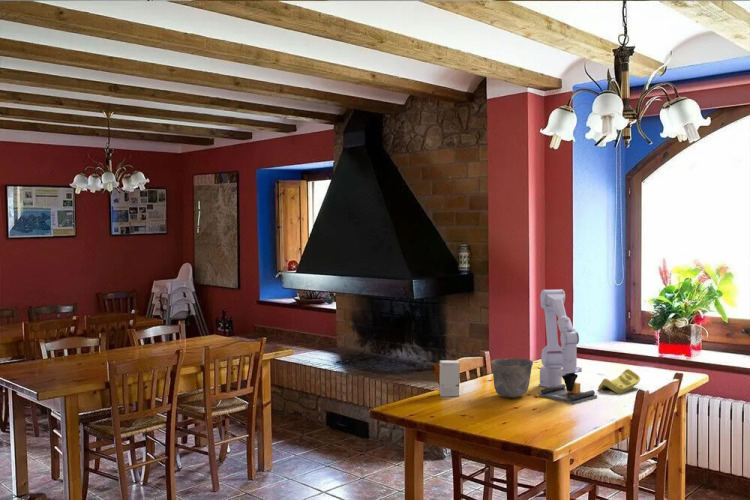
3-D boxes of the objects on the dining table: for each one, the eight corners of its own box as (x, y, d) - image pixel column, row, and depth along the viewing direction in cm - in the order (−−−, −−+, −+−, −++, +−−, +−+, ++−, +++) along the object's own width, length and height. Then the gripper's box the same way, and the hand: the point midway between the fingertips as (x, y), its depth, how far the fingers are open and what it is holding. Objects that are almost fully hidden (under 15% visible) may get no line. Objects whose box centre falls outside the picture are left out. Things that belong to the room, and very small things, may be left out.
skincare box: (440, 397, 298) (440, 362, 298) (439, 393, 304) (438, 359, 304) (460, 396, 299) (460, 362, 298) (458, 393, 305) (457, 359, 304)
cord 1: (539, 393, 298) (539, 388, 298) (561, 388, 307) (561, 383, 307) (543, 394, 296) (543, 389, 296) (565, 388, 305) (565, 384, 305)
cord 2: (568, 400, 286) (568, 395, 286) (590, 394, 295) (590, 389, 295) (573, 401, 284) (573, 396, 284) (594, 395, 293) (594, 390, 293)
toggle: (567, 391, 299) (567, 381, 299) (571, 390, 301) (571, 380, 301) (575, 393, 296) (575, 383, 295) (580, 392, 298) (580, 382, 297)
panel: (538, 395, 298) (538, 392, 298) (562, 390, 308) (562, 387, 308) (574, 404, 284) (574, 401, 284) (597, 397, 294) (597, 394, 294)
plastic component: (621, 389, 299) (602, 376, 305) (615, 403, 302) (596, 389, 308) (644, 379, 312) (625, 366, 318) (638, 392, 315) (619, 379, 321)
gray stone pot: (502, 389, 310) (502, 356, 310) (539, 394, 300) (539, 360, 300) (484, 397, 296) (484, 362, 295) (523, 403, 286) (523, 367, 285)
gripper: (566, 362, 288) (566, 395, 289) (587, 358, 297) (587, 389, 298) (553, 360, 294) (553, 392, 294) (573, 356, 303) (573, 387, 303)
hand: (569, 390), depth 297 cm, fingers closed
